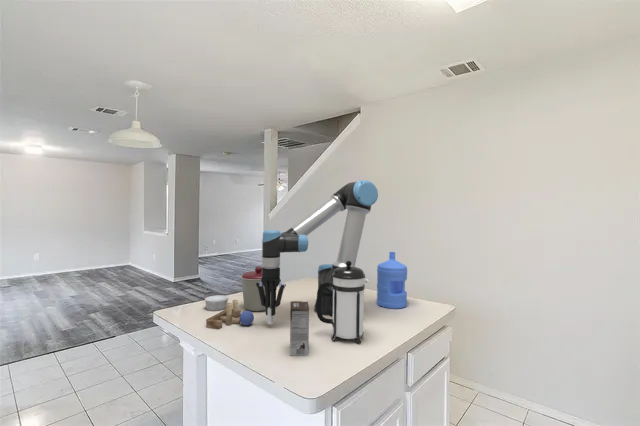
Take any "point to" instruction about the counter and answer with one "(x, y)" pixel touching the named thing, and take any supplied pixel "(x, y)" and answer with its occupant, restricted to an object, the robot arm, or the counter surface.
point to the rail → (217, 320)
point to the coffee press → (346, 302)
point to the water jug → (391, 283)
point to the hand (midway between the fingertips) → (270, 322)
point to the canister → (252, 290)
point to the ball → (246, 317)
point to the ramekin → (216, 302)
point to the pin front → (234, 320)
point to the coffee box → (299, 328)
